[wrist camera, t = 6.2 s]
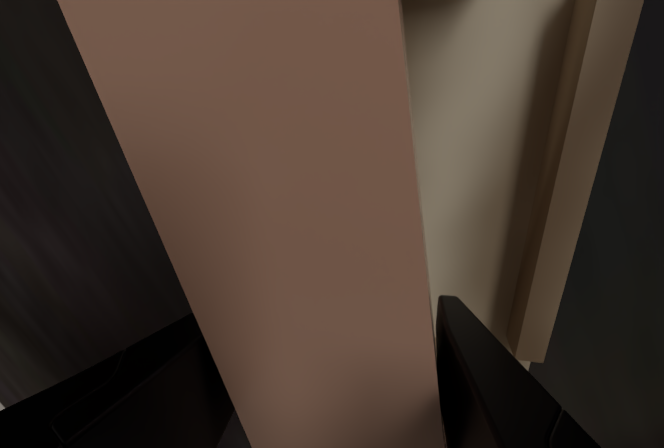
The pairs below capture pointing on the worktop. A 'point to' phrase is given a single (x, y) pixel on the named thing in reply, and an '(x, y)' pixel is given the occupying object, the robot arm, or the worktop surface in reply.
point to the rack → (511, 147)
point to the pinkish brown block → (283, 203)
